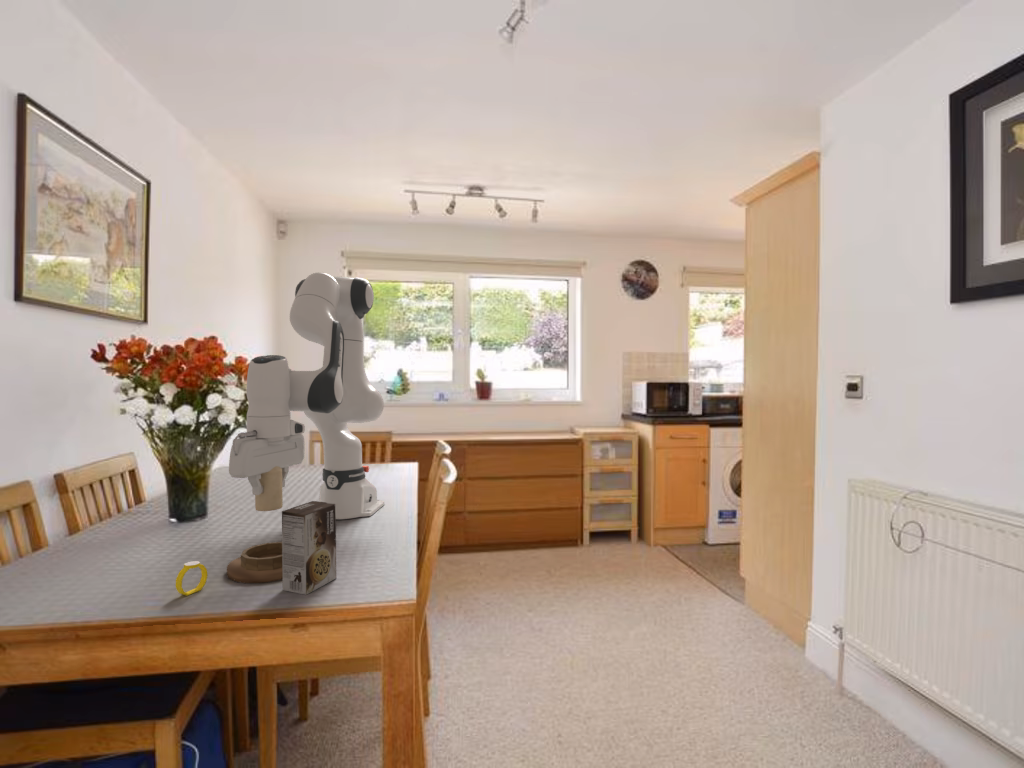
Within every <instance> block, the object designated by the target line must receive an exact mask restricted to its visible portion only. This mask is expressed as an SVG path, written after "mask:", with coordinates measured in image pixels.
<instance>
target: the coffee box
mask: <svg viewBox="0 0 1024 768" xmlns="http://www.w3.org/2000/svg"><path fill="white" fill-rule="evenodd" d="M336 521H337V519H336V515H335V504H330V503H326V502H319V500H316V501H315V500H312V501H308V502H306V503H302V504H300V505H296V506H294V507H291V508H287V509H285V510H282V511H281V533H282V534H281V536H282V537H281V542H282V564H283V579H282V590H283V591H284V592H285V591H286V592H290V593H294V594H300V595H305V596H307V595H309V594H311V593H312V592H315V591H316V590H317V589H319V588H322V587H323V586H325V585H326V584H329V583H330V582H332V581H334V580H336V579H337V532H336V530H337V528H336V527H337V526H336V525H337V524H336Z"/></svg>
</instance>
